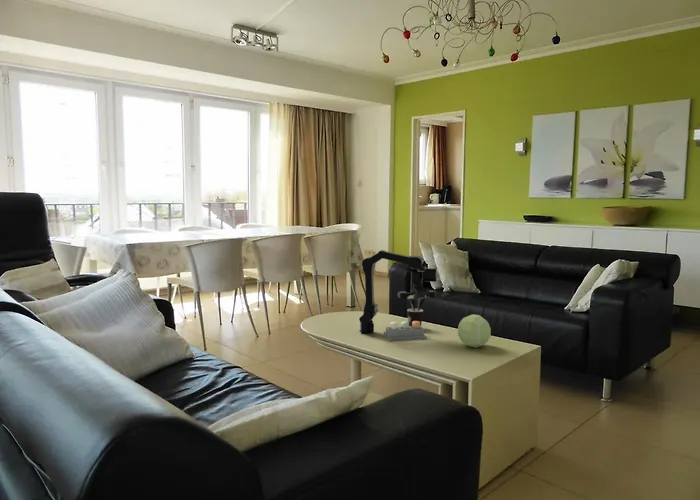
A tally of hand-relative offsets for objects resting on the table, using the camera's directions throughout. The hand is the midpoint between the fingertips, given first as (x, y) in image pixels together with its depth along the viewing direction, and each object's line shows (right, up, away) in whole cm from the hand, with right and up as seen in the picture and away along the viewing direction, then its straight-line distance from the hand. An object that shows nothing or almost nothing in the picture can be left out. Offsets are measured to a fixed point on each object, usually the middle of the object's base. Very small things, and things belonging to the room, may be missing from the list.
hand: (416, 311), depth 267 cm
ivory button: (-12, -10, -1) cm, 15 cm away
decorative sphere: (+25, -15, -17) cm, 34 cm away
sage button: (-6, -10, 0) cm, 11 cm away
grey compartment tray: (-6, -13, 0) cm, 14 cm away
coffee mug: (+1, -11, +19) cm, 22 cm away
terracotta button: (0, -10, +1) cm, 10 cm away
